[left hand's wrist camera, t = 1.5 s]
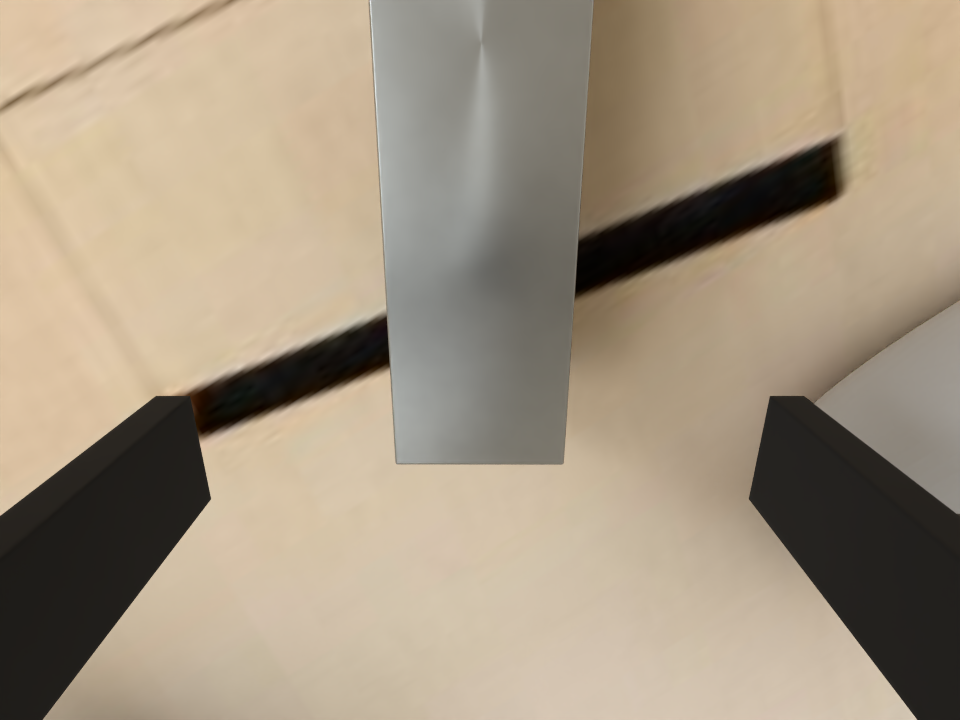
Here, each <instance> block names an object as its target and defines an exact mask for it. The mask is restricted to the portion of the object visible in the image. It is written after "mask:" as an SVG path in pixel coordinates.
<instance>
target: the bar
mask: <svg viewBox="0 0 960 720" xmlns="http://www.w3.org/2000/svg"><path fill="white" fill-rule="evenodd" d="M593 7H594V0H369V14H370V32H371V49H372V66H373V83H374V100H375V117H376V134H377V152H378V169H379V186H380V203H381V220H382V237H383V255H384V272H385V289H386V306H387V323H388V340H389V358H390V375H391V392H392V409H393V426H394V443H395V460H396V464H563V463H564V450H565V435H566V420H567V404H568V389H569V374H570V358H571V343H572V328H573V313H574V297H575V282H576V267H577V251H578V236H579V221H580V206H581V190H582V175H583V160H584V145H585V129H586V114H587V99H588V83H589V68H590V53H591V38H592V22H593Z"/></svg>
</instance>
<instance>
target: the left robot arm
mask: <svg viewBox="0 0 960 720" xmlns="http://www.w3.org/2000/svg"><path fill="white" fill-rule="evenodd" d="M210 500H211V496H210V492H209V487H208V482H207V477H206V472H205V467H204V462H203V457H202V453H201V448H200V443H199V438H198V433H197V428H196V423H195V418H194V414H193V409H192V404H191V399H190V396H156V397H154V398H153V399H152V400H150V401H149V402H148V403H146V404H145V405H144V406H143V407H141V408H140V409H139V410H137V411H136V412H135V413H134V414H132V415H131V416H130V417H128V418H127V419H126V420H124V421H123V422H122V423H121V424H119V425H118V426H117V427H115V428H114V429H113V430H111V431H110V432H109V433H108V434H106V435H105V436H104V437H102V438H101V439H100V440H98V441H97V442H96V443H95V444H93V445H92V446H91V447H89V448H88V449H87V450H85V451H84V452H83V453H82V454H80V455H79V456H78V457H76V458H75V459H74V460H72V461H71V462H70V463H69V464H67V465H66V466H65V467H63V468H62V469H61V470H59V471H58V472H57V473H56V474H54V475H53V476H52V477H50V478H49V479H48V480H47V481H45V482H44V483H43V484H41V485H40V486H39V487H37V488H36V489H35V490H34V491H32V492H31V493H30V494H28V495H27V496H26V497H24V498H23V499H22V500H21V501H19V502H18V503H17V504H15V505H14V506H13V507H11V508H10V509H9V510H8V511H6V512H5V513H4V514H2V515H1V516H0V720H43V718H44V717H45V716H46V715H47V713H48V712H49V711H50V709H51V708H52V707H53V705H54V704H55V703H56V701H57V700H58V699H59V697H60V696H61V695H62V694H63V692H64V691H65V690H66V688H67V687H68V686H69V684H70V683H71V682H72V680H73V679H74V678H75V677H76V675H77V674H78V673H79V671H80V670H81V669H82V667H83V666H84V665H85V663H86V662H87V661H88V660H89V658H90V657H91V656H92V654H93V653H94V652H95V650H96V649H97V648H98V646H99V645H100V644H101V642H102V641H103V640H104V639H105V637H106V636H107V635H108V633H109V632H110V631H111V629H112V628H113V627H114V625H115V624H116V623H117V622H118V620H119V619H120V618H121V616H122V615H123V614H124V612H125V611H126V610H127V608H128V607H129V606H130V604H131V603H132V602H133V601H134V599H135V598H136V597H137V595H138V594H139V593H140V591H141V590H142V589H143V587H144V586H145V585H146V584H147V582H148V581H149V580H150V578H151V577H152V576H153V574H154V573H155V572H156V570H157V569H158V568H159V566H160V565H161V564H162V563H163V561H164V560H165V559H166V557H167V556H168V555H169V553H170V552H171V551H172V549H173V548H174V547H175V546H176V544H177V543H178V542H179V540H180V539H181V538H182V536H183V535H184V534H185V532H186V531H187V530H188V529H189V527H190V526H191V525H192V523H193V522H194V521H195V519H196V518H197V517H198V515H199V514H200V513H201V511H202V510H203V509H204V508H205V506H206V505H207V504H208V502H209V501H210ZM749 500H750V501H751V502H752V504H753V505H754V506H755V508H756V509H757V510H758V511H759V513H760V514H761V515H762V517H763V518H764V519H765V521H766V522H767V523H768V525H769V526H770V527H771V529H772V530H773V531H774V532H775V534H776V535H777V536H778V538H779V539H780V540H781V542H782V543H783V544H784V546H785V547H786V548H787V549H788V551H789V552H790V553H791V555H792V556H793V557H794V559H795V560H796V561H797V563H798V564H799V565H800V567H801V568H802V569H803V570H804V572H805V573H806V574H807V576H808V577H809V578H810V580H811V581H812V582H813V584H814V585H815V586H816V587H817V589H818V590H819V591H820V593H821V594H822V595H823V597H824V598H825V599H826V601H827V602H828V603H829V604H830V606H831V607H832V608H833V610H834V611H835V612H836V614H837V615H838V616H839V618H840V619H841V620H842V622H843V623H844V624H845V625H846V627H847V628H848V629H849V631H850V632H851V633H852V635H853V636H854V637H855V639H856V640H857V641H858V642H859V644H860V645H861V646H862V648H863V649H864V650H865V652H866V653H867V654H868V656H869V657H870V658H871V660H872V661H873V662H874V663H875V665H876V666H877V667H878V669H879V670H880V671H881V673H882V674H883V675H884V677H885V678H886V679H887V680H888V682H889V683H890V684H891V686H892V687H893V688H894V690H895V691H896V692H897V694H898V695H899V696H900V697H901V699H902V700H903V701H904V703H905V704H906V705H907V707H908V708H909V709H910V711H911V712H912V713H913V715H914V716H915V717H916V718H917V720H960V514H956V513H955V512H954V511H952V510H951V509H950V508H949V507H947V506H946V505H945V504H943V503H942V502H941V501H939V500H938V499H937V498H936V497H934V496H933V495H932V494H930V493H929V492H928V491H926V490H925V489H924V488H923V487H921V486H920V485H919V484H917V483H916V482H915V481H913V480H912V479H911V478H910V477H908V476H907V475H906V474H904V473H903V472H902V471H901V470H899V469H898V468H897V467H895V466H894V465H893V464H891V463H890V462H889V461H888V460H886V459H885V458H884V457H882V456H881V455H880V454H878V453H877V452H876V451H875V450H873V449H872V448H871V447H869V446H868V445H867V444H865V443H864V442H863V441H862V440H860V439H859V438H858V437H856V436H855V435H854V434H852V433H851V432H850V431H849V430H847V429H846V428H845V427H843V426H842V425H841V424H839V423H838V422H837V421H836V420H834V419H833V418H832V417H830V416H829V415H828V414H826V413H825V412H824V411H823V410H821V409H820V408H819V407H817V406H816V405H815V404H814V403H812V402H811V401H810V400H808V399H807V398H806V397H804V396H770V399H769V404H768V409H767V414H766V418H765V423H764V428H763V433H762V438H761V443H760V448H759V453H758V457H757V462H756V467H755V472H754V477H753V482H752V487H751V492H750V496H749Z"/></svg>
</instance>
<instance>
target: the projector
mask: <svg viewBox="0 0 960 720" xmlns="http://www.w3.org/2000/svg"><path fill="white" fill-rule="evenodd" d="M814 404H815V405H816V406H817V407H819V408H820V409H821V410H823V411H824V412H825V413H826V414H828V415H829V416H830V417H832V418H833V419H834V420H836V421H837V422H838V423H839V424H841V425H842V426H843V427H845V428H846V429H847V430H849V431H850V432H851V433H852V434H854V435H855V436H856V437H858V438H859V439H860V440H862V441H863V442H864V443H865V444H867V445H868V446H869V447H871V448H872V449H873V450H875V451H876V452H877V453H878V454H880V455H881V456H882V457H884V458H885V459H886V460H888V461H889V462H890V463H891V464H893V465H894V466H895V467H897V468H898V469H899V470H901V471H902V472H903V473H904V474H906V475H907V476H908V477H910V478H911V479H912V480H913V481H915V482H916V483H917V484H919V485H920V486H921V487H923V488H924V489H925V490H926V491H928V492H929V493H930V494H932V495H933V496H934V497H936V498H937V499H938V500H939V501H941V502H942V503H943V504H945V505H946V506H947V507H949V508H950V509H951V510H952V511H954V512H955V513H956V514H960V300H959V301H958V302H956V303H954V304H953V305H951V306H949V307H948V308H946V309H945V310H943V311H942V312H940V313H938V314H937V315H935V316H934V317H932V318H931V319H929V320H927V321H926V322H924V323H923V324H921V325H920V326H918V327H916V328H915V329H913V330H912V331H910V332H909V333H907V334H906V335H904V336H903V337H901V338H900V339H899V340H897V341H896V342H894V343H893V344H891V345H890V346H888V347H887V348H885V349H884V350H882V351H881V352H879V353H878V354H877V355H875V356H874V357H872V358H871V359H870V360H868V361H867V362H866V363H864V364H863V365H861V366H860V367H859V368H857V369H856V370H854V371H853V372H852V373H850V374H849V375H848V376H846V377H845V378H844V379H843V380H841V381H840V382H839V383H838V384H836V385H835V386H834V387H832V388H831V389H830V390H829V391H827V392H826V393H825V394H824V395H823V396H822V397H820V398H819V399H818V400H817V401H816V402H815V403H814Z"/></svg>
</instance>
